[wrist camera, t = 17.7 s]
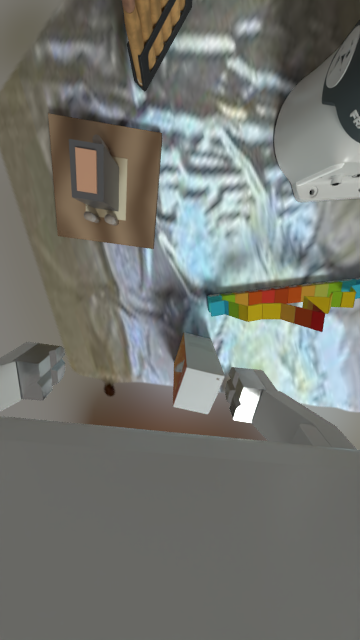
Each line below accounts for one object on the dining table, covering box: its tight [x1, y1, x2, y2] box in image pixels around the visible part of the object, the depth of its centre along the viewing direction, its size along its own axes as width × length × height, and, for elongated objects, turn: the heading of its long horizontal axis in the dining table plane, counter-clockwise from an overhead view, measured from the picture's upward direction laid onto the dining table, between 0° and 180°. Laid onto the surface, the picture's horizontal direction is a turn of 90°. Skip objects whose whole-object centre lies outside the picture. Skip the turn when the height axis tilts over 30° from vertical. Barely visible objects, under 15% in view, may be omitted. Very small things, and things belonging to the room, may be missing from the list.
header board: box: [48, 113, 162, 249], centre depth 30 cm, size 16×16×5 cm
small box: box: [173, 332, 225, 414], centre depth 37 cm, size 8×6×13 cm
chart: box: [207, 278, 360, 332], centre depth 32 cm, size 30×3×15 cm, turn 96°
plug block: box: [69, 139, 119, 212], centre depth 27 cm, size 4×6×7 cm, turn 173°
